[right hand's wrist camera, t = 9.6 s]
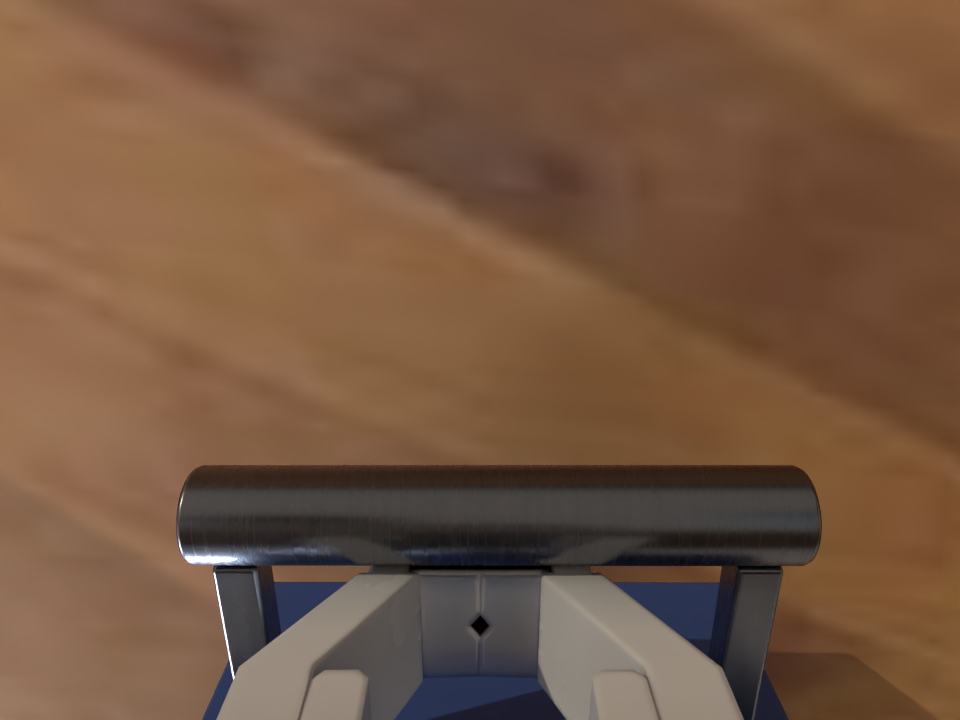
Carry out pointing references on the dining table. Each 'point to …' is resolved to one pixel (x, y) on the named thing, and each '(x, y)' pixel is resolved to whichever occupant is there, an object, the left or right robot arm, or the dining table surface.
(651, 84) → the dining table surface
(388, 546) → the drawer
